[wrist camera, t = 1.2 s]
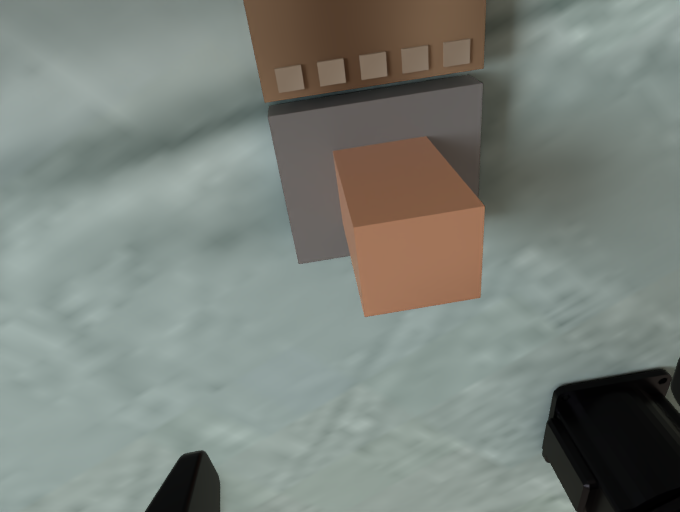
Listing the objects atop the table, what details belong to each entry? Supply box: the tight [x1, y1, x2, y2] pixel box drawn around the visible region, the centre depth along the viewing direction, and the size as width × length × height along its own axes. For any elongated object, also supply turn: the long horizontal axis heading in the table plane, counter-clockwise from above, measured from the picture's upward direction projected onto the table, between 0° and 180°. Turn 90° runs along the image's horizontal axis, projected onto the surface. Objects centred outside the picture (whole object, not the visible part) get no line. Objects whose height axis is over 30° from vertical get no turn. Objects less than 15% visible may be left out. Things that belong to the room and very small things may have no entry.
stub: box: [268, 75, 485, 317], centre depth 15 cm, size 7×6×7 cm
